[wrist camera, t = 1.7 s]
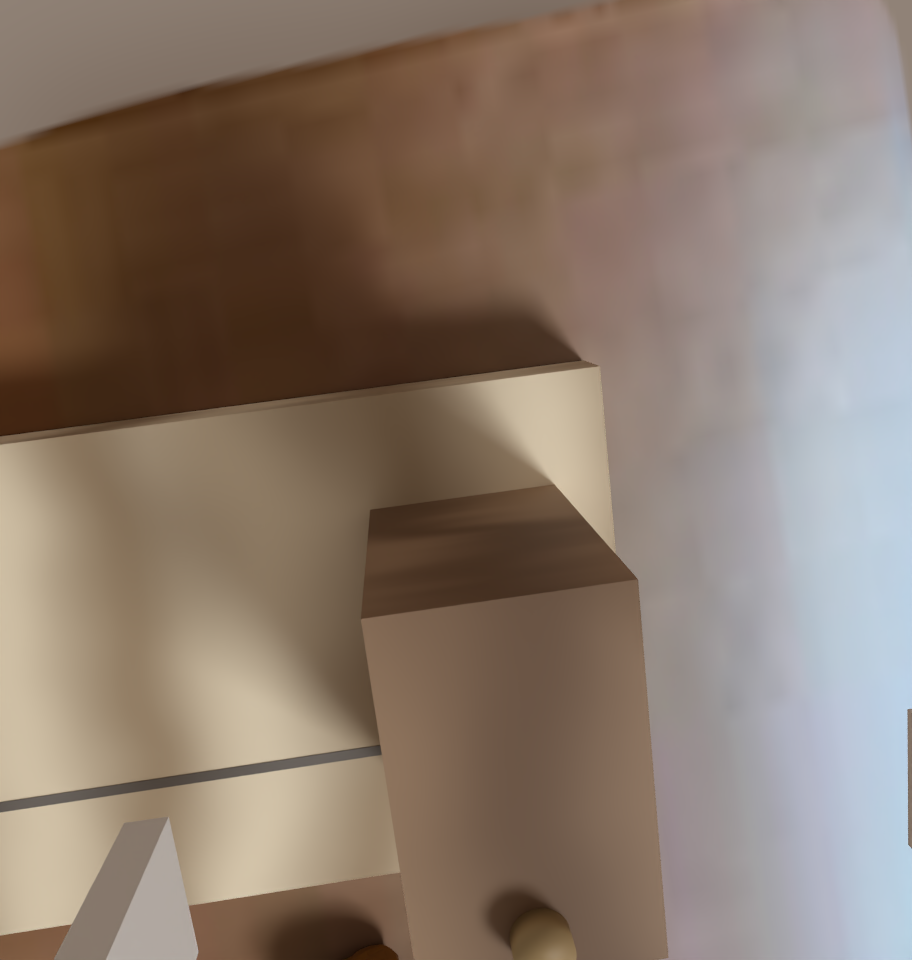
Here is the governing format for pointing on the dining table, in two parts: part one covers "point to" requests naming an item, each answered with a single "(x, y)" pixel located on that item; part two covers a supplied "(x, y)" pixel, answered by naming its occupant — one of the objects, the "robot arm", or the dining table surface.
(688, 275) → the dining table surface
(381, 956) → the primitive tool
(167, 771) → the board
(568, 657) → the beige drawer
